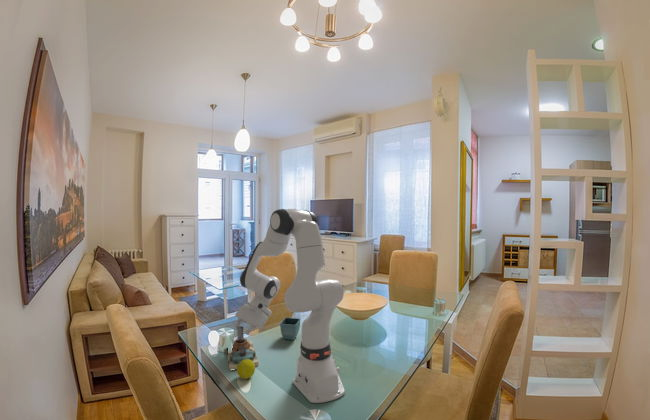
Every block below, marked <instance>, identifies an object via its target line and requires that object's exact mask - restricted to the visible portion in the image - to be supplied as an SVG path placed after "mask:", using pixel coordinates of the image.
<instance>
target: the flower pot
mask: <svg viewBox="0 0 650 420" xmlns="http://www.w3.org/2000/svg"><path fill="white" fill-rule="evenodd" d="M279 326H280V332H281V333H280V334H281V336H282V338H283V339H284V340H290V341H294V340H296V339H295V338H297V336H298V333H299V331H300V327H301V318H296V317H295V318H294V317H293V318H292V317H284V318H283V319H282V320H281V322H280V323H279Z"/></svg>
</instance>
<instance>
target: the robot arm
mask: <svg viewBox="0 0 650 420" xmlns="http://www.w3.org/2000/svg"><path fill="white" fill-rule="evenodd" d="M266 231H267V232H266V233H265V237H264V239H263V241H260V242H258V243H257V244H256V245H255V247H254V249H253V250H252V252H251V255H250V257H249V260H248V262H247V264H246V265H245V268H244V270H243V271H242V272H241V274H240V276H239V283H240V286H241V287H243V288H245V289H247V290H250V291H251V292H253V293H255V295H254V296H253V298H252V299H251V300H250V302H246V303H243V304H242V306H241V307H239V309H238V310H237V311H236V312H235V314H234V315H235V318H237V319H236V323H235V325H234V327H233V328H234V329H235V330H237V328H238V327H240V326H241V323H246V324H248V325H250V326H249V328H248V329H245V331H244V334H245V335H246V336H249V335H250V334H251V333H252V332H253V331H254V330H255V329H259V330H261V329H263V328H264V326H265V324H266V323H267V322H268V319H269V317H270V316H271V315H272V310H270V308H269V306H270V304H271V302H272V300H273V299H274V298H275V296H276V295H277V293H278V292H279V290H280V288H281V285H282V283H281V280H280V279H279V278H278V277H276V276H274V275H270V276H269V275H266V274H264V273H262V272H260V271H259V270H258V269H257V267H259V266H258V265H259V263H260V261H261V259H262V257H279V256H281V255H282V254H284V252H285V251H286V250H287V248H288V246H289V241H290V238H291V235H292V236H294V239H295V247H296V248H295V250H296V259H297V264H296V265H297V266H296V267H297V270H296V274H295V277H294V280H293V281H292V282H291V284H290V286H288V288H287V289H286V291H285V293H284V298H283V301H284V306H285V307H286V308H287V309H288V311H289V312H291V313H297V314H298V313H306V312H310V313H309V315H307V316H306V318H305V319H304V320H303V321H302V324H301V342H300V346H299V349H300V356H299V357H298V359H297V360H296V373H295V375H296V376H295V377H293V379H292V384H293V385H294V386H295V387H296V388H297V389H298V391H299V392H301V394H302V395H303V396H304V397H305V398H306V399H307V401H308V402H309V403H313V404H314V403H315V404H320V403H322V404H323V403H326V402H331V401H335V400H337V399H339V398H341V397H343V396H344V395H345V393H346V391H345V388H344V385H343V383H342V380H341V378H340V375H339V374H340V373H341V368H340V366H337V367H336V359H334V358H333V354H332V347H331V342H330V325H331V320H332V318H333V317H332V316H333V314H334V312H335V310H336V308H337V306H338V305H339V304H340V303H341V302H342V301H343V298H344V294H345V292H344V287H343V284H342V283H341V282H340V281H339V280H338V279H330V278H329V279H328V278H326V279H320V280H316V276H317V274H318V272H319V271H321V270H322V269H323V268H324V266H325V263H326V262H325V254H324V246H323V245H324V244H323V239H322V238H323V237H322V234H321V231H320V227H319V225H318V219H317V216H316V214H315V213H314V212H312V211H310V210H306V209H305V210H302V209H296V208H288V209H287V208H285V209H284V208H280V209H276V210H274V211H273V212H272V213H271V215H270V218H269V226H268V227H267V230H266Z"/></svg>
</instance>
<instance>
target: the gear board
mask: <svg viewBox="0 0 650 420" xmlns="http://www.w3.org/2000/svg"><path fill="white" fill-rule="evenodd" d="M232 344H233V348H232V352H231V353H228V355H227V362H228V361H229V363H228V367H229V368H228V370H229V369H230V370H231V369H237V367H238V364H239V363H240V362H241V361H242V360H245V359H250V360H252V361H253V362H254V364H255V367H258V366H259V360H258V357H257V354H256V350H255V346H254V344H253V341H252V340H249V341H248V339H247V338H245V337H244V342H243V343H237V338H236V339H234V340H233V343H232Z"/></svg>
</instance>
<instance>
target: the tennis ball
mask: <svg viewBox="0 0 650 420" xmlns="http://www.w3.org/2000/svg"><path fill="white" fill-rule="evenodd" d="M255 371H256V366H255V364H254V362H253V361H252V360H250V359H245V360H242V361H241V362H240V363H239V364H238V367H237V370H236V372H237V375H238V377H239V378H240V379H243V380H246V379H247V380H248V379H250V378H251V377H253V375H254V374H255Z"/></svg>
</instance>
